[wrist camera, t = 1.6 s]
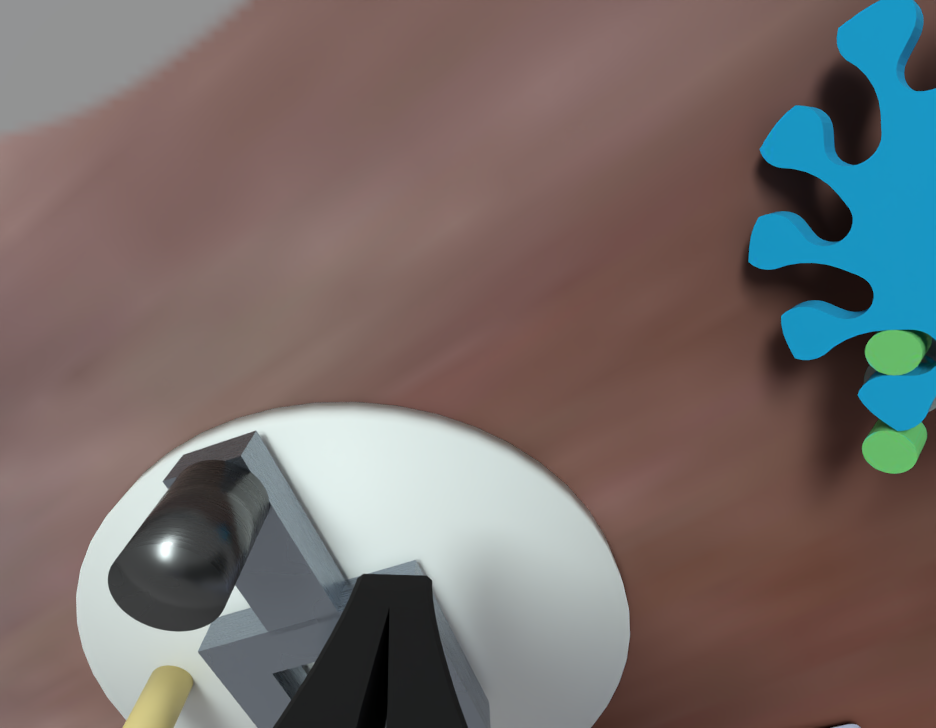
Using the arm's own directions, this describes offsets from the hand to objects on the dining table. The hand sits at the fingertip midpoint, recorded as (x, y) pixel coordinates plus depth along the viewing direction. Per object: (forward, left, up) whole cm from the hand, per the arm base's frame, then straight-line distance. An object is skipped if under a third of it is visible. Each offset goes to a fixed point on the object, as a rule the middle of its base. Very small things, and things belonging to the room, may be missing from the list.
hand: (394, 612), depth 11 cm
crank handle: (-4, +5, -5) cm, 8 cm away
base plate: (-7, +5, -6) cm, 10 cm away
